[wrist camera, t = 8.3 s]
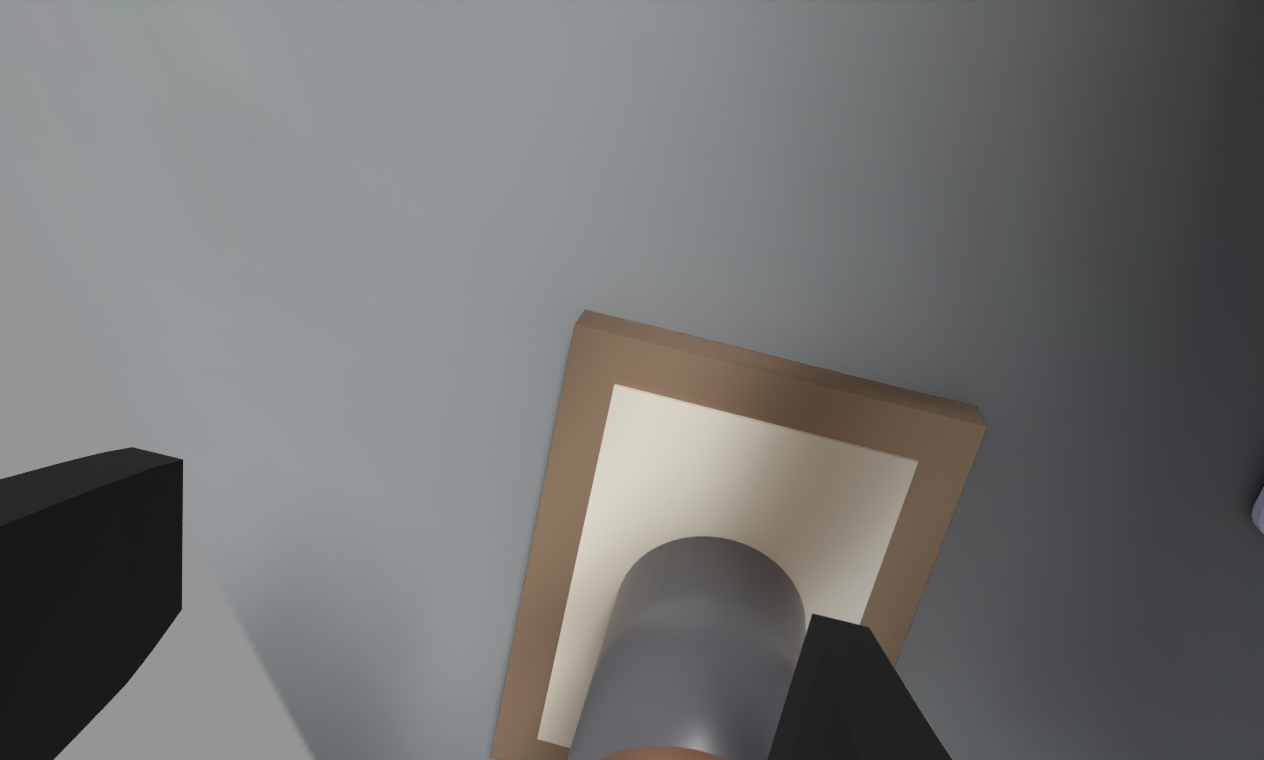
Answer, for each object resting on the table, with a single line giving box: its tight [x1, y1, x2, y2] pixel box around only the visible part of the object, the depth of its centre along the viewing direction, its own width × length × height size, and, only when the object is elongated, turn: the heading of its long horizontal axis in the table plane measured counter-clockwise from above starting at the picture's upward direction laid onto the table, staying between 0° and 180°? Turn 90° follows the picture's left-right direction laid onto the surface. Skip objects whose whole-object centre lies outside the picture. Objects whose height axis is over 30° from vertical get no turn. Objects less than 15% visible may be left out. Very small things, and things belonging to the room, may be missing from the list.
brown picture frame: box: [491, 310, 987, 760], centre depth 20 cm, size 8×11×1 cm
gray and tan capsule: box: [567, 536, 806, 760], centre depth 16 cm, size 4×4×8 cm
